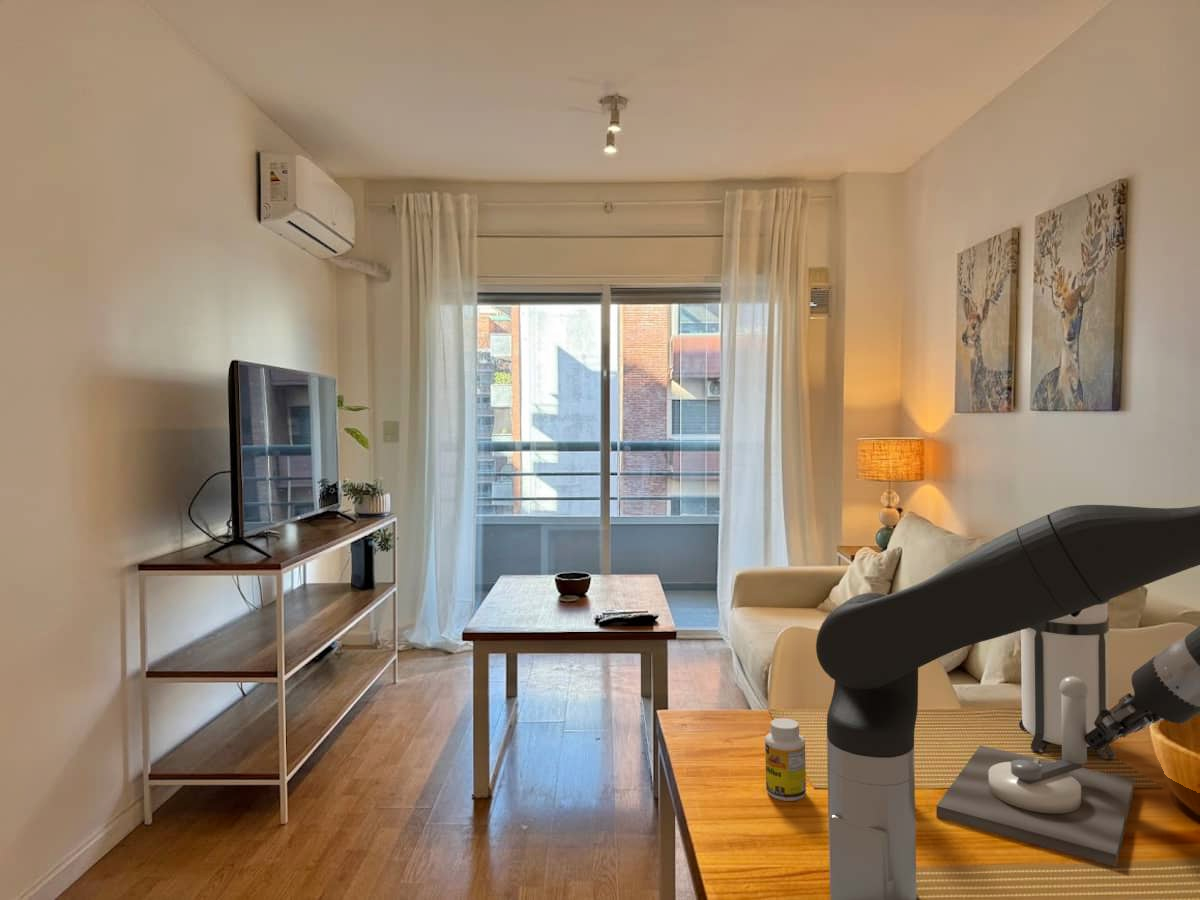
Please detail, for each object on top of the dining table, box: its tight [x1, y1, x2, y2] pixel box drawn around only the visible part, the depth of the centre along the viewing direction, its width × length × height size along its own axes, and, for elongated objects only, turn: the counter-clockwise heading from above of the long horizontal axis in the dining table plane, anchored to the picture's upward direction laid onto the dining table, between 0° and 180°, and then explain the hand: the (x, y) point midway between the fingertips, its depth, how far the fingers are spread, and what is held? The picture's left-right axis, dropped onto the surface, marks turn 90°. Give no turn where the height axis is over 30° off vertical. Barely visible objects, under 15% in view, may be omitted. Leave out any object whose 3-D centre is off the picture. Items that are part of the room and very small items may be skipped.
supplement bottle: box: [764, 717, 807, 802], centre depth 110 cm, size 6×6×10 cm
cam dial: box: [988, 676, 1088, 814], centre depth 106 cm, size 16×11×15 cm
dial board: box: [935, 745, 1135, 868], centre depth 106 cm, size 24×20×2 cm
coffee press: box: [1018, 599, 1115, 761], centre depth 126 cm, size 17×16×30 cm
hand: (1091, 743), depth 107 cm, fingers closed
